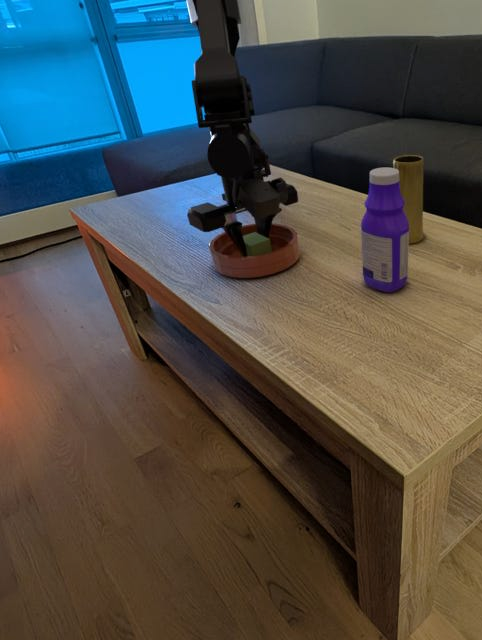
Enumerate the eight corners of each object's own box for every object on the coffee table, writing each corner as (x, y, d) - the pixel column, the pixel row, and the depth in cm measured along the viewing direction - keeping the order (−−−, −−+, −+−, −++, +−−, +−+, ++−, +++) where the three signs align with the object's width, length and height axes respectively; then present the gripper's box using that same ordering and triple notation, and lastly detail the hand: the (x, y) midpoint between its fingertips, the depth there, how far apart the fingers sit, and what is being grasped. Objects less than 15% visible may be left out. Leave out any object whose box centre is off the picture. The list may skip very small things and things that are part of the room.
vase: (423, 231, 88) (425, 153, 79) (423, 244, 83) (427, 162, 74) (391, 231, 88) (391, 154, 80) (390, 244, 84) (390, 164, 75)
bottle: (414, 284, 71) (417, 169, 60) (392, 298, 68) (391, 180, 57) (379, 271, 75) (377, 162, 64) (356, 284, 72) (350, 172, 61)
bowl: (199, 262, 83) (193, 241, 80) (269, 236, 90) (266, 217, 88) (242, 289, 73) (237, 267, 71) (317, 258, 81) (314, 237, 78)
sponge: (240, 256, 82) (235, 238, 80) (258, 249, 84) (254, 231, 82) (254, 264, 79) (250, 245, 77) (273, 257, 81) (269, 238, 79)
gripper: (206, 184, 62) (232, 284, 72) (311, 155, 72) (322, 247, 81) (173, 171, 69) (200, 264, 79) (273, 146, 78) (286, 232, 88)
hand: (254, 252), depth 81 cm, fingers closed on sponge, 4 cm apart
